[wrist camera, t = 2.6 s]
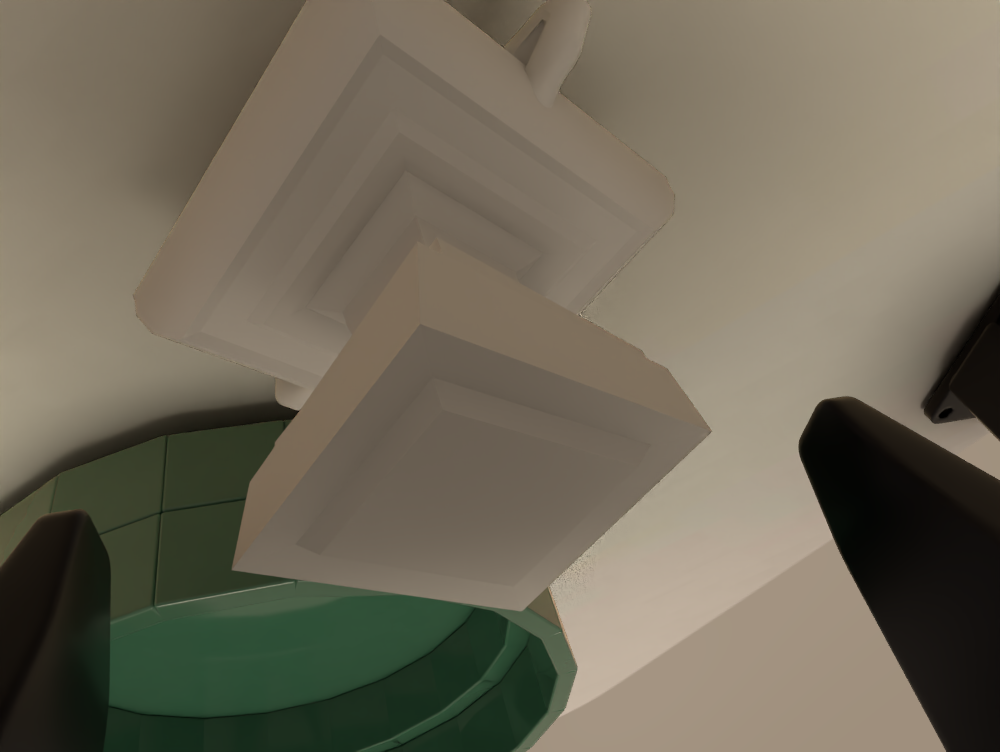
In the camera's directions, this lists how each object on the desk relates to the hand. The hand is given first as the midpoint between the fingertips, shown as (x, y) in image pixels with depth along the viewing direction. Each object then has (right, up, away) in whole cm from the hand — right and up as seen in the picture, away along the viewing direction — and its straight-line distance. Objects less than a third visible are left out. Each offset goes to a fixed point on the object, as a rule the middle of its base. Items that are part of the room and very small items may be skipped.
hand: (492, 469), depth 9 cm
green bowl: (-7, -6, +14) cm, 16 cm away
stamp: (-2, +5, +6) cm, 8 cm away
